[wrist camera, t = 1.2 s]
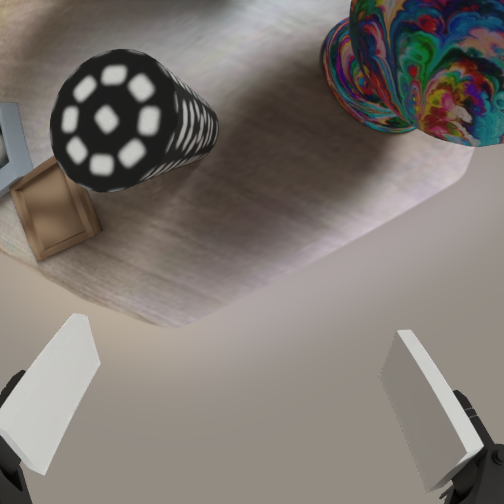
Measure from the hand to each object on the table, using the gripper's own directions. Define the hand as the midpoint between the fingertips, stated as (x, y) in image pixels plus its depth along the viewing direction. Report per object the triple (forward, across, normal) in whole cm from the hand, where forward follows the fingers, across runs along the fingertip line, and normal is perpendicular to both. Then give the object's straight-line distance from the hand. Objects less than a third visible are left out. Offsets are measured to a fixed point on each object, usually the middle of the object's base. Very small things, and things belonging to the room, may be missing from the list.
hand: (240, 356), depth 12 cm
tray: (+26, -27, 0) cm, 37 cm away
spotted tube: (+26, -8, +9) cm, 29 cm away
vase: (+26, +16, +19) cm, 37 cm away
